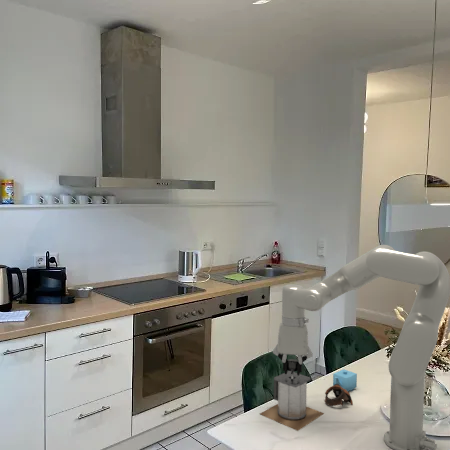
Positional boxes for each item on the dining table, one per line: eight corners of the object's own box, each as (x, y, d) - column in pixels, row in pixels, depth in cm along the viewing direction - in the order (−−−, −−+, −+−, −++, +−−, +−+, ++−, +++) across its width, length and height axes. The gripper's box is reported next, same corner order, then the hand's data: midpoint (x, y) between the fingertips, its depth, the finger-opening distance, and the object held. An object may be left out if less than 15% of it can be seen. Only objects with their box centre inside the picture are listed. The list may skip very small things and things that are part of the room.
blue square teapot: (341, 397, 171) (341, 378, 170) (327, 392, 176) (328, 373, 175) (358, 388, 179) (359, 369, 178) (345, 383, 183) (345, 365, 183)
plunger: (305, 406, 155) (306, 360, 154) (294, 413, 151) (294, 366, 149) (289, 400, 160) (290, 356, 159) (278, 406, 155) (278, 361, 154)
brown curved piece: (357, 413, 159) (348, 396, 157) (333, 422, 161) (323, 405, 159) (350, 390, 171) (341, 374, 169) (327, 399, 173) (318, 383, 170)
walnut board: (324, 416, 156) (324, 413, 156) (297, 434, 144) (297, 430, 144) (286, 401, 167) (286, 398, 167) (259, 417, 155) (259, 413, 155)
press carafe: (311, 413, 156) (312, 377, 155) (295, 423, 148) (295, 386, 148) (283, 402, 164) (283, 368, 163) (266, 411, 157) (266, 375, 156)
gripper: (318, 319, 155) (317, 371, 156) (270, 316, 159) (269, 367, 160) (317, 326, 148) (316, 380, 149) (267, 322, 152) (266, 375, 153)
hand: (292, 372), depth 154 cm, fingers closed on plunger, 3 cm apart
